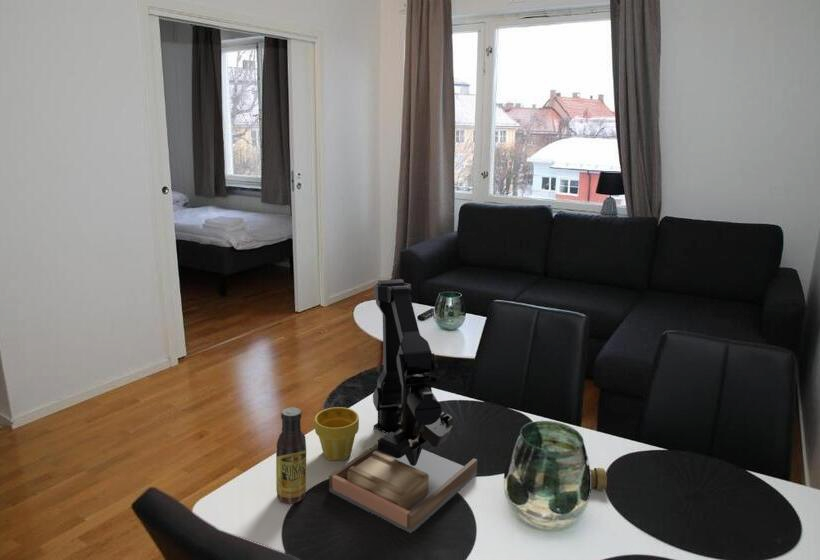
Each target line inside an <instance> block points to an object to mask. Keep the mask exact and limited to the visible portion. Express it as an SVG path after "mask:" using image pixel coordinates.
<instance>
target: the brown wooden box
mask: <svg viewBox="0 0 820 560" xmlns="http://www.w3.org/2000/svg"><path fill="white" fill-rule="evenodd" d="M347 481H349V482H351V483H353V484H355V485H357V486H359V487H361V488H363V489H365V490H367V491H369V492H371V493H374V494H376V495H378V496H380V497H382V498H384V499H386V500H388V501H390V502H392V503H394V504H396V505H398V506H400V507H402V508H404V509H406V510H408V509H410V508H411V507H412V506H413V505H414V504H416V503H417V502H418V501H419V500H420V499H422V498H423V497H424V496H425V495H426V494H428V482H429V474H427V473H425V472H423V471H421V470H419V469H416V468H414V467H412V466H409V465H407V464H405V463H403V462H400V461H398V460H396V459H393V458H391V457H389V456H387V455H384V454H382V453H380V452H377V451H375V452H373V453H372V456H371V457H370V458H368V459H367V460H365V461H363V462H362V463H360V464H359V465H357V466H356V467H354V466H352V467H350V468H349V471H348V472H347Z"/></svg>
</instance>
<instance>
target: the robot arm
mask: <svg viewBox="0 0 820 560" xmlns="http://www.w3.org/2000/svg"><path fill="white" fill-rule="evenodd" d="M372 289H373V298H374V300H375V304H376V306H377V307H378V309H379V310H380V312H381V314H382V347H383V348H382V353H383V355H382V357H383V358H382V359H383V362H382V363H383V364H382V365H383V369H382V371H381V373H380V375H379V376H378V378H377V385H376V388H375V389H374V392H373V393H372V403H373V405H374V408H375V410H376V411H377V423H375V424H374V425H373V429H377V430H379V431H382V432H384V433H386V434H385V435H383V436H382V437H380V438H379V439H377V444H378V450H379V451H381V452H384V453H386V454H388V455H390V456H392V457H395V458H401V457H403V456H404V455H406V457H407V459H408V461H409V463H410V465H412V466H415V465H416V464H417V461H418V459H419V456H420V453H421V450H422V449H424V448H423V447H424V445H425V444H426V443H427V442H428V443H430V445H431V446H432V447H435V448H438V447H439V446H440V445H442V444H443V443H444V442H446V441H447V439H448V437H449V434H452V432H454V421H453V416H452V415H450V414H449V413H447V414H446V413H445V412H444V411H442V410H443V409H442V405H441V404H440V402H439V401H438V399H437V398H436V396H435V394H434V393H433V391H432V390H433V388H432V386H434V385H435V386H436V385H439V383H440V382H439V377H440V371H439V368H438V362H437V358H436V356H435V353H434V352H433V351H432V349H431V346H430V343H429V342H428V340H427V339H425V337H423V336H422V335H421V333H420V329H419V325H418V322H417V318H416V314H415V310H414V307H413V303H412V284H411V283H405V280H404V279H402V278H399V279H386V280H385V279H381V280H377V283H376V284H374V285H373V288H372ZM425 374H431V375H425ZM424 375H425V376H424ZM400 429H401V430H402V432H400V433H399V434H395V432H396V431H398V430H400Z"/></svg>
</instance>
